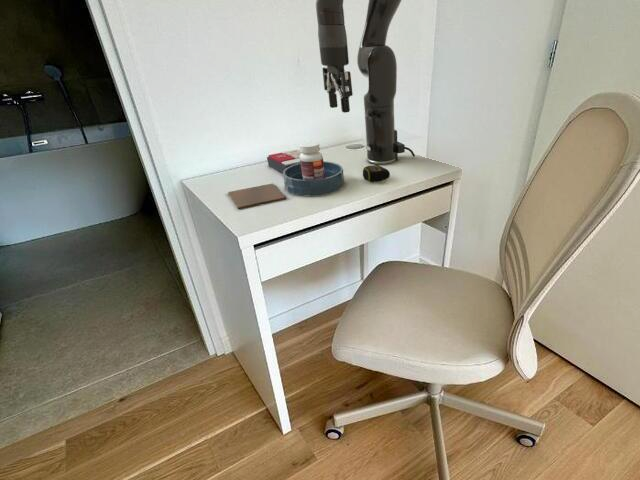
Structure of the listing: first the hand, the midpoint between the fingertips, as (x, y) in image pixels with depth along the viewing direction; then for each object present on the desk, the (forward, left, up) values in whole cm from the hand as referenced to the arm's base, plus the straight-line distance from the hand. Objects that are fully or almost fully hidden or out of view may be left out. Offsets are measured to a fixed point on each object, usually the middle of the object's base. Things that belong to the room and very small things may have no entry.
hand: (339, 109), depth 113 cm
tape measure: (-3, +15, -17) cm, 23 cm away
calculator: (+14, -8, -17) cm, 24 cm away
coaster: (+30, +9, -17) cm, 36 cm away
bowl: (+14, +10, -17) cm, 24 cm away
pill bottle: (+14, +10, -17) cm, 24 cm away
